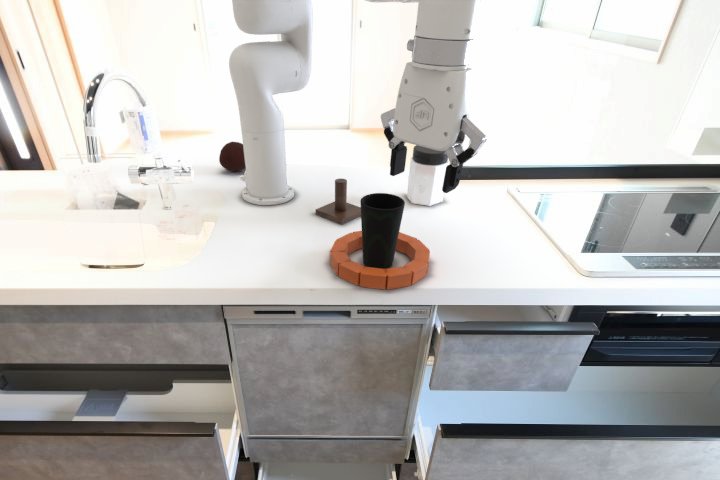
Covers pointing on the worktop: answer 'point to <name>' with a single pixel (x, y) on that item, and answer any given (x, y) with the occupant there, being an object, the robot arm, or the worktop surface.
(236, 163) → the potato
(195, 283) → the worktop surface
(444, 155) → the jar
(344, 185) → the stand
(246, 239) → the worktop surface
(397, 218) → the cup
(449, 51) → the robot arm
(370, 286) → the ring
